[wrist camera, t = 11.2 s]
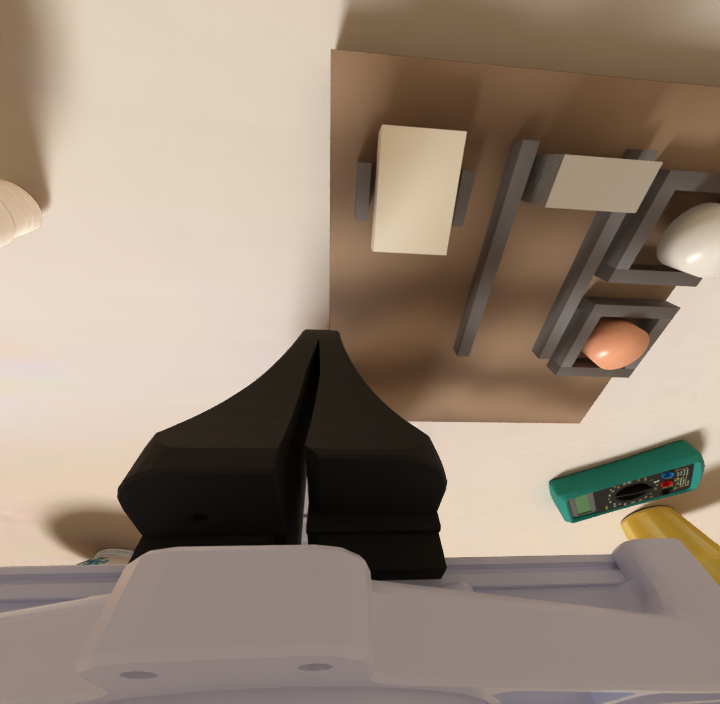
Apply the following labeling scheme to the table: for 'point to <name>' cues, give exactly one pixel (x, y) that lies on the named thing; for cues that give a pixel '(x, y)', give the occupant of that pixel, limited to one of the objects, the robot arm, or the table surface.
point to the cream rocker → (415, 189)
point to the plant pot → (674, 534)
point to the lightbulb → (16, 212)
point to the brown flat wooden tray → (507, 234)
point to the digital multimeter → (628, 482)
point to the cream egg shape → (693, 241)
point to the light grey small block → (589, 182)
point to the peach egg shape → (615, 343)
